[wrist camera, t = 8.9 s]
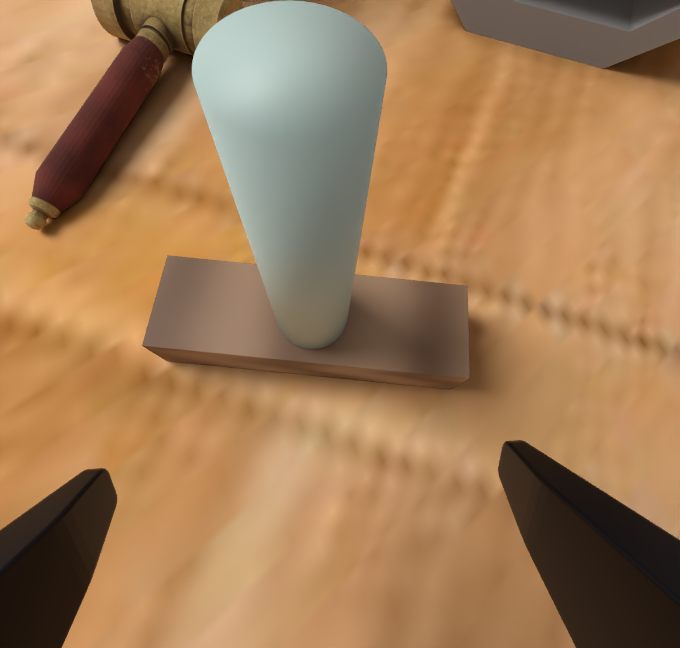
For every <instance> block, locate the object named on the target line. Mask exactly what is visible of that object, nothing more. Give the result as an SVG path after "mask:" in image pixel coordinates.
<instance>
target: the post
mask: <svg viewBox="0 0 680 648" xmlns="http://www.w3.org/2000/svg"><path fill="white" fill-rule="evenodd" d="M192 77H193V82H194V85H195V88H196V91H197V94H198V97H199V100H200V103H201V105H202V108H203V111H204V114H205V117H206V120H207V123H208V126H209V128H210V131H211V134H212V137H213V140H214V143H215V146H216V149H217V151H218V154H219V157H220V160H221V163H222V166H223V169H224V172H225V174H226V177H227V180H228V183H229V186H230V189H231V192H232V195H233V197H234V200H235V203H236V206H237V209H238V212H239V215H240V218H241V220H242V223H243V226H244V229H245V232H246V235H247V238H248V241H249V243H250V246H251V249H252V252H253V255H254V258H255V261H256V264H257V266H258V269H259V272H260V275H261V278H262V281H263V284H264V287H265V289H266V292H267V295H268V298H269V301H270V304H271V307H272V310H273V312H274V315H275V318H276V321H277V324H278V327H279V329H280V331H281V333H282V335H283V336H284V337H285V338H286V339H287V340H288V341H289V342H290V343H292V344H294V345H296V346H298V347H301V348H305V349H319V348H323V347H326V346H328V345H330V344H332V343H333V342H335V341H336V340H337V339H338V338H339V337H340V336H341V334H342V333H343V331H344V329H345V327H346V324H347V319H348V313H349V306H350V300H351V294H352V288H353V282H354V275H355V269H356V263H357V257H358V251H359V245H360V238H361V232H362V226H363V220H364V214H365V208H366V201H367V195H368V189H369V183H370V177H371V171H372V164H373V158H374V152H375V146H376V140H377V134H378V127H379V121H380V115H381V109H382V103H383V97H384V90H385V84H386V78H387V63H386V58H385V54H384V52H383V49H382V47H381V45H380V44H379V42H378V40H377V39H376V38H375V36H374V35H373V34H372V33H371V32H370V31H369V30H368V29H367V28H366V27H365V26H364V25H363V24H362V23H360V22H359V21H358V20H356V19H355V18H353V17H351V16H349V15H348V14H346V13H344V12H342V11H339V10H337V9H334V8H331V7H329V6H326V5H321V4H317V3H312V2H305V1H293V0H288V1H272V2H265V3H260V4H256V5H252V6H249V7H246V8H243V9H241V10H238V11H236V12H234V13H232V14H230V15H228V16H226V17H225V18H223V19H222V20H220V21H219V22H217V23H216V24H215V25H214V26H213V27H212V28H211V29H209V31H208V32H207V33H206V34H205V35H204V36H203V38H202V39H201V41H200V42H199V44H198V46H197V48H196V51H195V53H194V57H193V61H192Z"/></svg>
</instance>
